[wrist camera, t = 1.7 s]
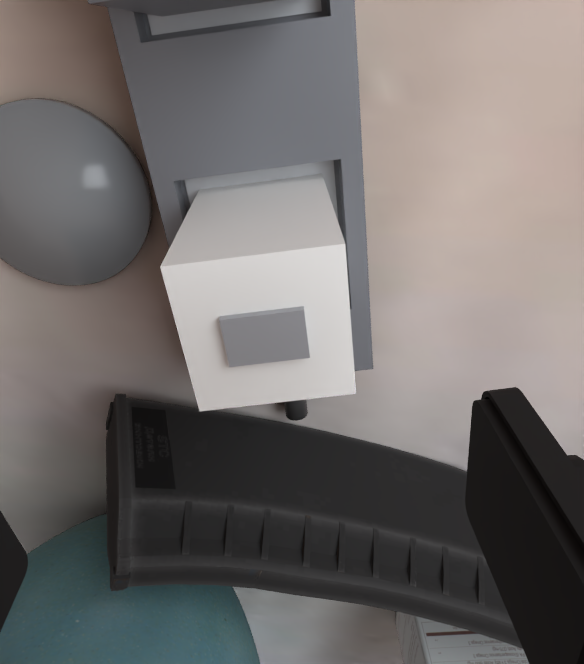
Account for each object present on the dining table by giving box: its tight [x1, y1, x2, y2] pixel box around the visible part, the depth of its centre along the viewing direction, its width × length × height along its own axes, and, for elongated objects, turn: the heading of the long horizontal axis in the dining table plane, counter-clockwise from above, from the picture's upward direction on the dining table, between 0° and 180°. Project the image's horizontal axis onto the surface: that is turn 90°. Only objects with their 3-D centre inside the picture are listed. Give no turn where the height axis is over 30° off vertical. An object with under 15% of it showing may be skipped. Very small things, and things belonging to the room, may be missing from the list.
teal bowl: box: [0, 514, 260, 664], centre depth 29 cm, size 18×18×12 cm
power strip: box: [107, 0, 373, 420], centre depth 20 cm, size 28×8×4 cm, turn 7°
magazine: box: [106, 394, 523, 649], centre depth 26 cm, size 17×3×30 cm
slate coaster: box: [0, 98, 152, 285], centre depth 22 cm, size 8×8×1 cm
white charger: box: [160, 174, 356, 411], centre depth 18 cm, size 5×5×8 cm
